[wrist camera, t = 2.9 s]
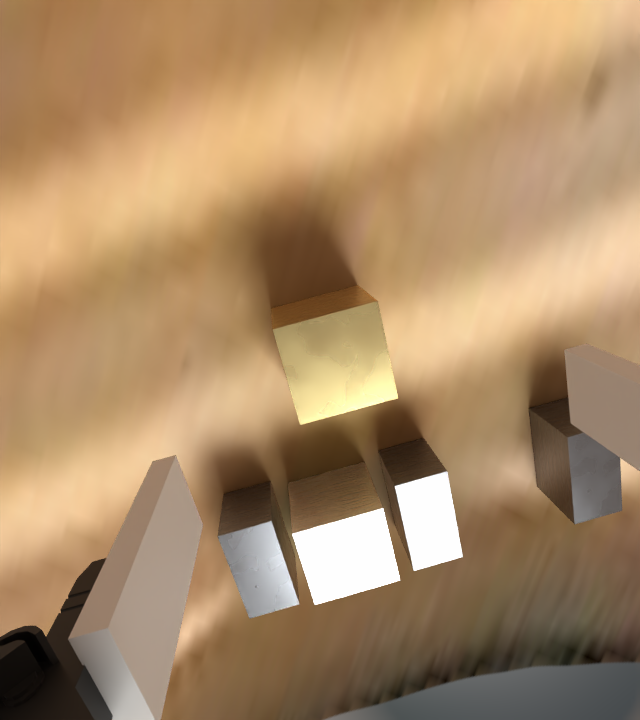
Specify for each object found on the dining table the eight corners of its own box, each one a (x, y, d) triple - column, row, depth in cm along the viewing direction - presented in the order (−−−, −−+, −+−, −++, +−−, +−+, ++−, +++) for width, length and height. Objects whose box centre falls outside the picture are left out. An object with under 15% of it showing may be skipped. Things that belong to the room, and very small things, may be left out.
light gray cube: (287, 482, 30) (292, 533, 25) (364, 461, 30) (383, 508, 25) (307, 544, 31) (315, 604, 26) (379, 524, 31) (400, 580, 27)
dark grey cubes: (223, 494, 29) (217, 536, 25) (573, 396, 30) (618, 422, 26) (251, 568, 31) (249, 618, 27) (579, 474, 32) (622, 510, 28)
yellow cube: (271, 307, 26) (272, 329, 21) (357, 285, 26) (377, 301, 22) (294, 388, 28) (300, 425, 23) (375, 366, 28) (397, 398, 23)
